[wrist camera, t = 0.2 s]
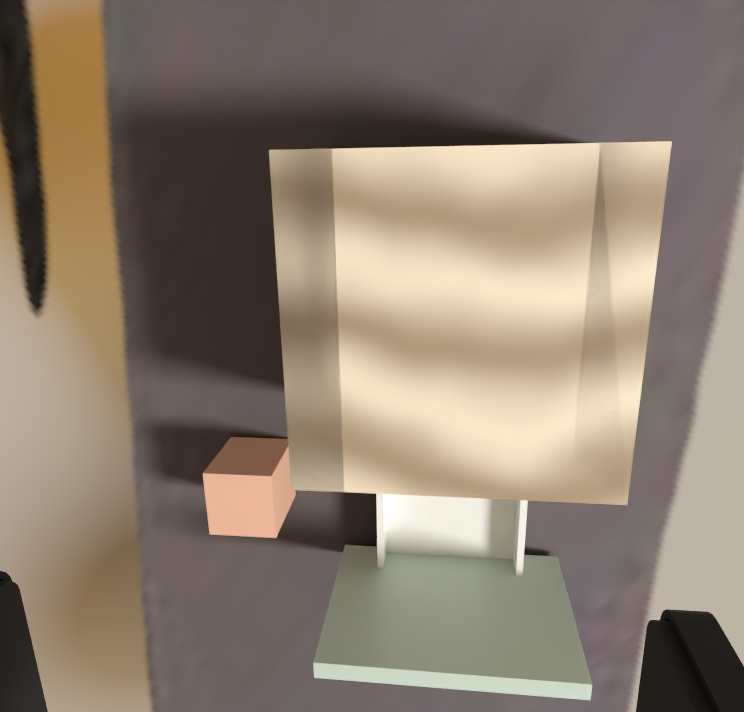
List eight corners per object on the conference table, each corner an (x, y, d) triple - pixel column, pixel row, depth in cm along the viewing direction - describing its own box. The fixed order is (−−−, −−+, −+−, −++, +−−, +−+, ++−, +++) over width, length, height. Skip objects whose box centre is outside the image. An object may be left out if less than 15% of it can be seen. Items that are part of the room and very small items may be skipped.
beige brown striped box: (323, 151, 42) (269, 150, 29) (599, 146, 40) (671, 141, 27) (333, 399, 47) (291, 489, 34) (576, 406, 45) (626, 505, 32)
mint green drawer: (338, 357, 46) (299, 427, 34) (574, 361, 44) (620, 437, 32) (345, 557, 51) (314, 677, 39) (556, 569, 49) (590, 700, 37)
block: (230, 436, 49) (202, 473, 44) (292, 439, 49) (271, 476, 43) (236, 492, 51) (209, 534, 45) (295, 494, 50) (276, 537, 45)
